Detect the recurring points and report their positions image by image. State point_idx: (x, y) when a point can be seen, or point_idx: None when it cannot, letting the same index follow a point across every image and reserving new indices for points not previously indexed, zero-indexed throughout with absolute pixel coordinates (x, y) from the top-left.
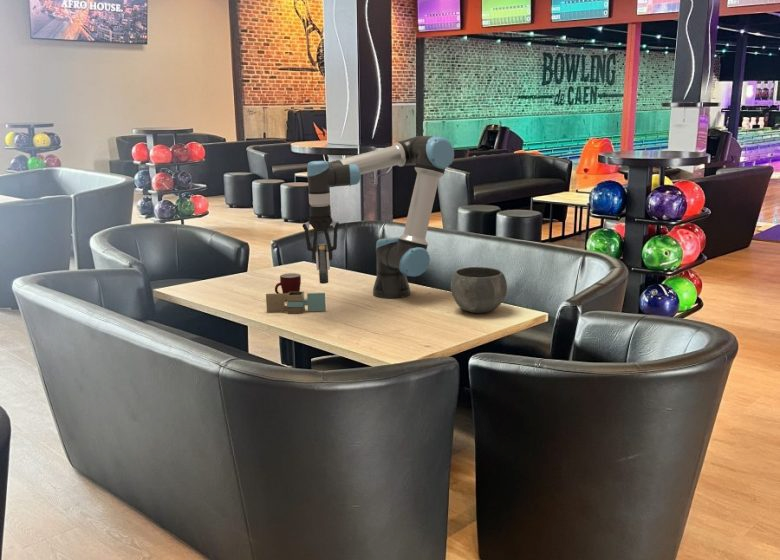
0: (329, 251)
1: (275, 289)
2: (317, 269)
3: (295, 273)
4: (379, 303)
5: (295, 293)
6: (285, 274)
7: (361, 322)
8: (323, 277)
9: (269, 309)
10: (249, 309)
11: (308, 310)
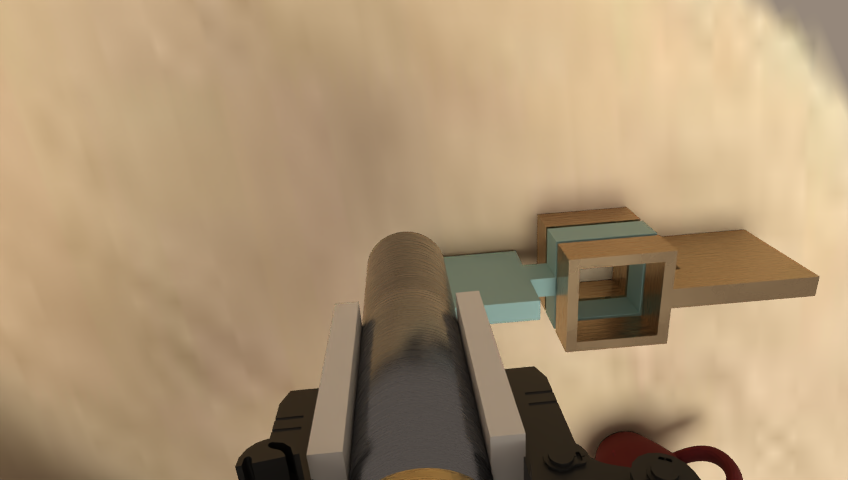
0: (285, 463)
1: (734, 463)
2: (470, 294)
3: None
4: (149, 408)
5: (618, 333)
6: None
7: (137, 21)
8: (402, 254)
9: (739, 237)
10: (837, 287)
11: (512, 252)
